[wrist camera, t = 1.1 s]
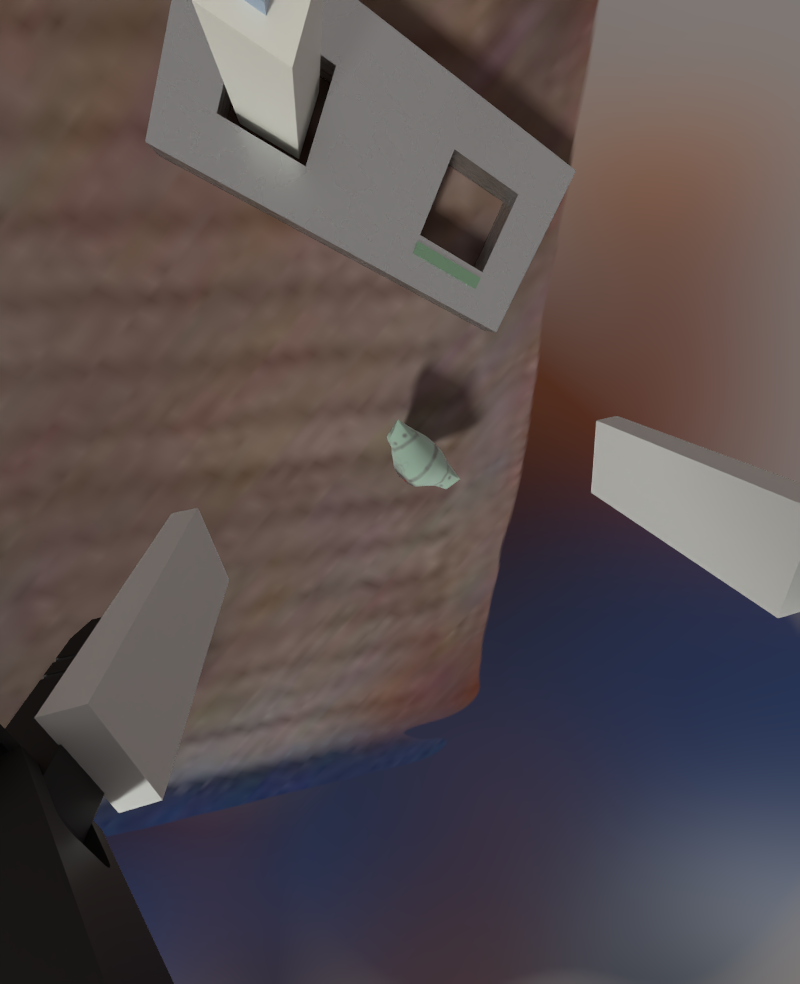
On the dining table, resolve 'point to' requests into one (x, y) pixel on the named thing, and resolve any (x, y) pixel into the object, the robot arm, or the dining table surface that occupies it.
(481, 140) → the panel
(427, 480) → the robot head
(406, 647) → the dining table surface
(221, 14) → the plug
